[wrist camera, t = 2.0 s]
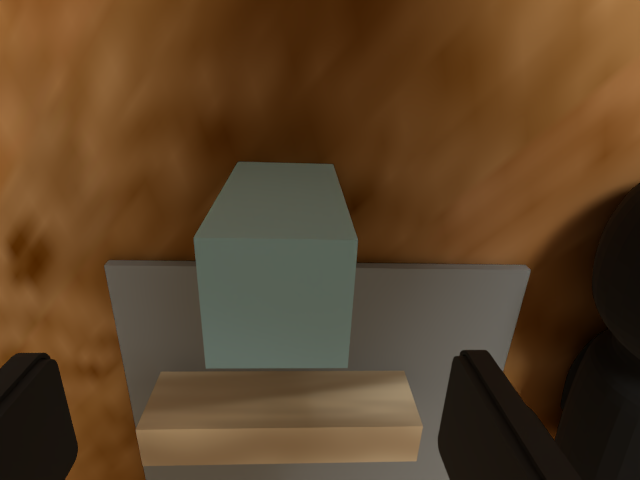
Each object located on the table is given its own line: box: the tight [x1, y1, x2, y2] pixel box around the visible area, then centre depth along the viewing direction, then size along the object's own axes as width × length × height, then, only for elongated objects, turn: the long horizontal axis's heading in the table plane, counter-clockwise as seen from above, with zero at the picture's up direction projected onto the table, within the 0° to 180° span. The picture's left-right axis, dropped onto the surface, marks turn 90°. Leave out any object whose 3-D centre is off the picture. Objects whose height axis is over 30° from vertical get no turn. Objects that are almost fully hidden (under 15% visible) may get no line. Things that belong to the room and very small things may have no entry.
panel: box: [104, 260, 531, 480], centre depth 25 cm, size 18×22×1 cm
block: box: [194, 162, 358, 369], centre depth 16 cm, size 4×4×9 cm
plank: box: [136, 371, 423, 466], centre depth 22 cm, size 2×14×4 cm, turn 88°
